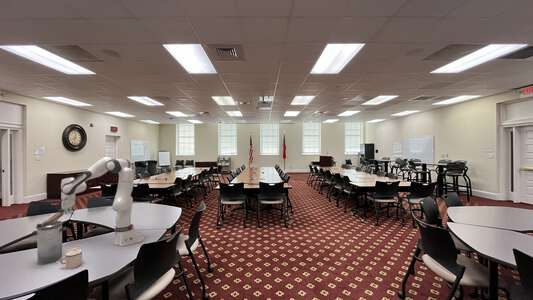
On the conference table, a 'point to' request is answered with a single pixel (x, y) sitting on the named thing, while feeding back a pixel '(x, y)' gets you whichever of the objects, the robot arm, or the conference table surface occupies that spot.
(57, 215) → the lock bar
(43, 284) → the conference table surface
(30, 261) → the conference table surface
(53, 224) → the grey tall piece
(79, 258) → the teacup with lid
